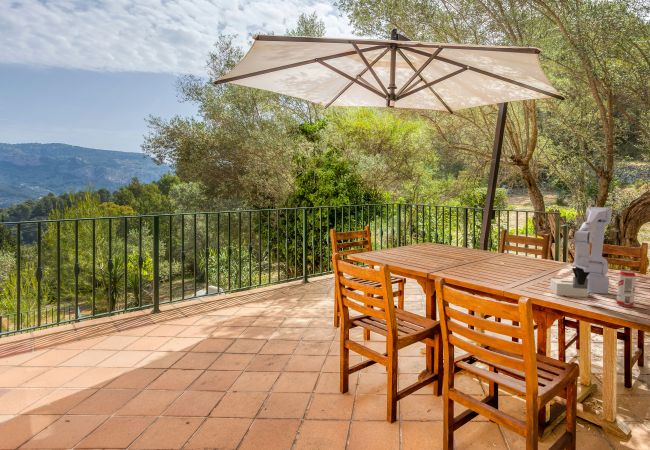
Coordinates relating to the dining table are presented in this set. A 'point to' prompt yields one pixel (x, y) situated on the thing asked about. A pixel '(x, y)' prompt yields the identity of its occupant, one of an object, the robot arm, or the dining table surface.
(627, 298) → the beer can
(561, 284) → the box
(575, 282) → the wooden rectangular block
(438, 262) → the dining table surface
